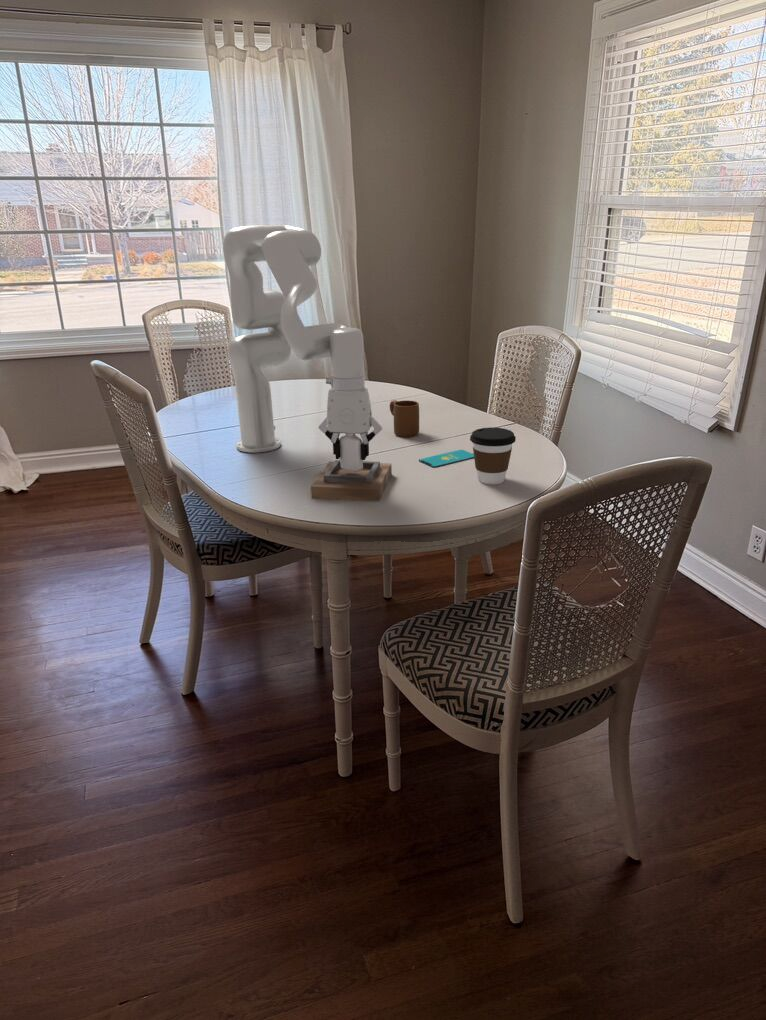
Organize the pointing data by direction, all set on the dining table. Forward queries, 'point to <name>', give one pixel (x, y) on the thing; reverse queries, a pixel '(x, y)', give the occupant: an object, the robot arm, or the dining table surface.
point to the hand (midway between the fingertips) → (351, 457)
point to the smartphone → (447, 458)
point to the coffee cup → (492, 453)
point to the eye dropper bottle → (350, 453)
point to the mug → (405, 418)
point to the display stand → (352, 482)
